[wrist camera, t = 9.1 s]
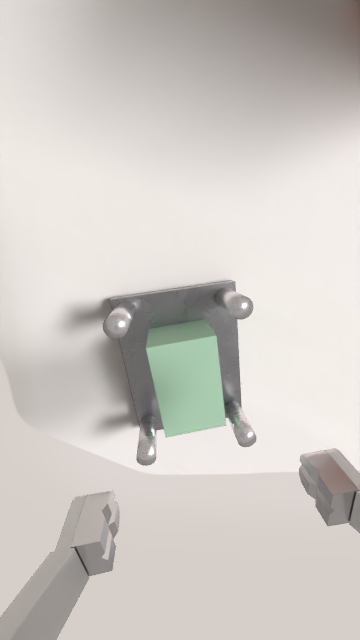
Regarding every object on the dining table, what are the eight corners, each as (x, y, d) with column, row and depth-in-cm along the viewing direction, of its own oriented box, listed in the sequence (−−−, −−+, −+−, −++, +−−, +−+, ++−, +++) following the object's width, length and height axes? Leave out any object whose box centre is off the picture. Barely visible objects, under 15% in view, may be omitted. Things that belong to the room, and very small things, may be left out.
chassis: (112, 297, 18) (95, 312, 14) (231, 280, 19) (255, 288, 14) (141, 425, 23) (137, 470, 18) (238, 408, 23) (258, 448, 18)
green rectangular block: (148, 328, 18) (145, 348, 15) (204, 319, 19) (216, 335, 15) (164, 404, 21) (165, 437, 17) (214, 394, 21) (226, 425, 17)
